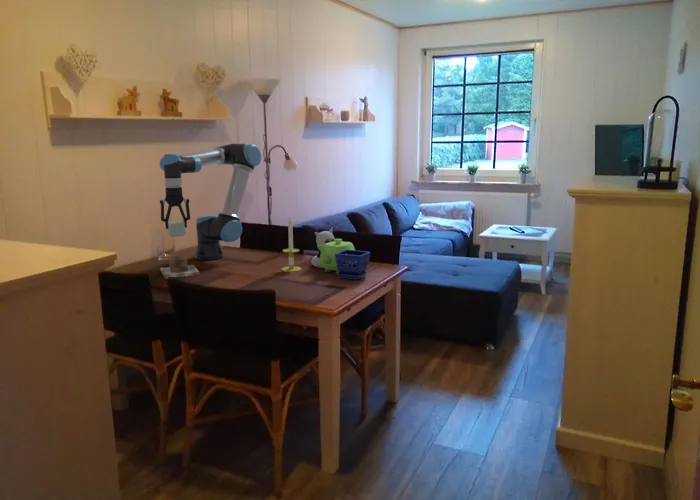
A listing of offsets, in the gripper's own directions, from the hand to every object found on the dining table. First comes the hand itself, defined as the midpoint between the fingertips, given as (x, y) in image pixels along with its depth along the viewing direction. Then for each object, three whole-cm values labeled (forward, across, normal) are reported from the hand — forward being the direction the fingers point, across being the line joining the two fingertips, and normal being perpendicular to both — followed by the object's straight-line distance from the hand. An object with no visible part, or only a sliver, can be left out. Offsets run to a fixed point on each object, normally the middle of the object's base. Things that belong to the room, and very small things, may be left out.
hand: (176, 234), depth 267 cm
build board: (+19, 0, 0) cm, 19 cm away
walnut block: (+17, 0, 0) cm, 17 cm away
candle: (+19, -52, +16) cm, 58 cm away
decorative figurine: (+19, -71, +17) cm, 75 cm away
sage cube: (0, 0, 0) cm, 0 cm away
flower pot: (+19, -73, +44) cm, 87 cm away
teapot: (+19, -70, +27) cm, 77 cm away
